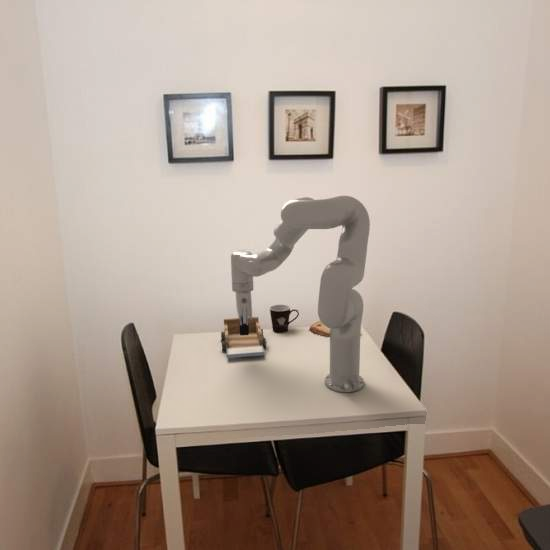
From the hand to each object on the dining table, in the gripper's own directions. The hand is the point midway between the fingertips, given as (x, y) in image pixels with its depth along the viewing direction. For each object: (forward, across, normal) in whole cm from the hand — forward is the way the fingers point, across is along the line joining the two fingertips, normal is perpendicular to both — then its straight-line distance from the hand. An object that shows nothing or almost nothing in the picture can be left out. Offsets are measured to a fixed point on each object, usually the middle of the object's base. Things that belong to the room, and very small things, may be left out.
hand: (244, 334), depth 170 cm
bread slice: (+10, +19, -39) cm, 44 cm away
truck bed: (+10, +14, 0) cm, 17 cm away
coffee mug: (+10, +25, -18) cm, 32 cm away
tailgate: (+8, +5, 0) cm, 9 cm away
